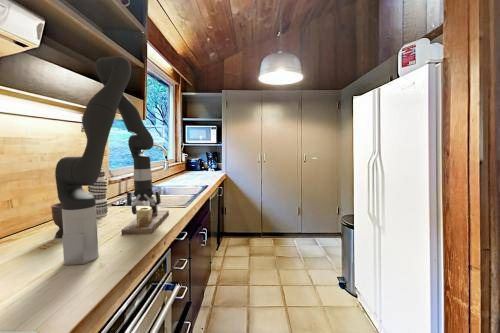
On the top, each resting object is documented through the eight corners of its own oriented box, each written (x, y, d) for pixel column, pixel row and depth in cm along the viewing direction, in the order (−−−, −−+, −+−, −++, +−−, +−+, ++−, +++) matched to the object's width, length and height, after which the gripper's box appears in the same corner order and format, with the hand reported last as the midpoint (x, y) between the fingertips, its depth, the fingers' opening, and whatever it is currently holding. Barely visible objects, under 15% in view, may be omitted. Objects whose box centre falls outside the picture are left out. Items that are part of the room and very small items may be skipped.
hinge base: (151, 233, 113) (150, 207, 112) (121, 234, 112) (120, 208, 111) (168, 214, 145) (168, 193, 144) (145, 214, 144) (145, 194, 143)
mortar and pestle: (90, 231, 116) (87, 185, 115) (79, 238, 108) (76, 188, 106) (61, 232, 115) (58, 186, 114) (48, 239, 107) (45, 189, 105)
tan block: (140, 220, 126) (140, 207, 125) (152, 219, 126) (151, 207, 126) (131, 227, 115) (131, 213, 114) (144, 227, 115) (143, 213, 114)
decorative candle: (92, 213, 147) (89, 167, 145) (110, 212, 150) (108, 167, 148) (86, 217, 139) (83, 169, 137) (106, 216, 141) (103, 168, 139)
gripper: (123, 180, 118) (125, 216, 119) (156, 179, 119) (158, 215, 120) (129, 177, 125) (131, 212, 127) (161, 177, 126) (162, 211, 128)
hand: (144, 213), depth 123 cm, fingers open, 8 cm apart
